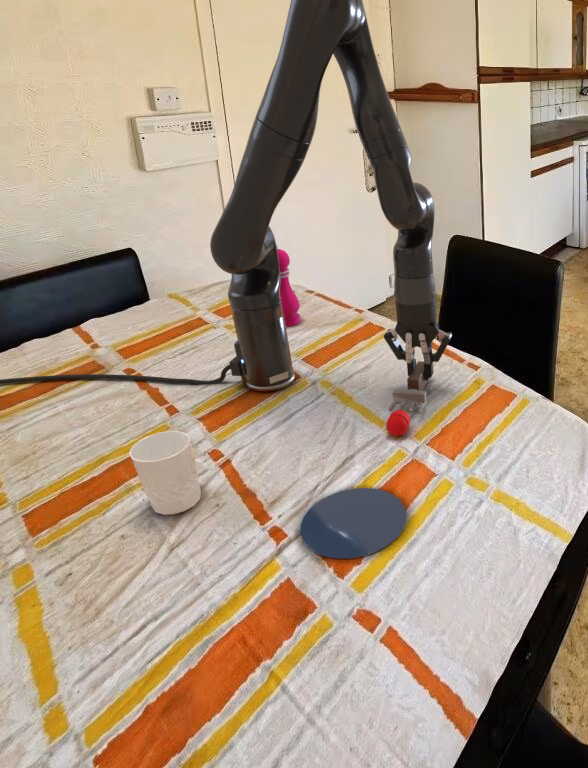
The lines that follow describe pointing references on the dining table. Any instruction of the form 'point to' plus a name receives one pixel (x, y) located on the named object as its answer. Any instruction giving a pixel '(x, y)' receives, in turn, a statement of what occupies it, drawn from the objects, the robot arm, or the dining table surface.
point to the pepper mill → (287, 291)
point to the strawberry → (398, 422)
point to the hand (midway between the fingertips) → (420, 377)
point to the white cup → (167, 471)
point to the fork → (412, 391)
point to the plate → (353, 523)
